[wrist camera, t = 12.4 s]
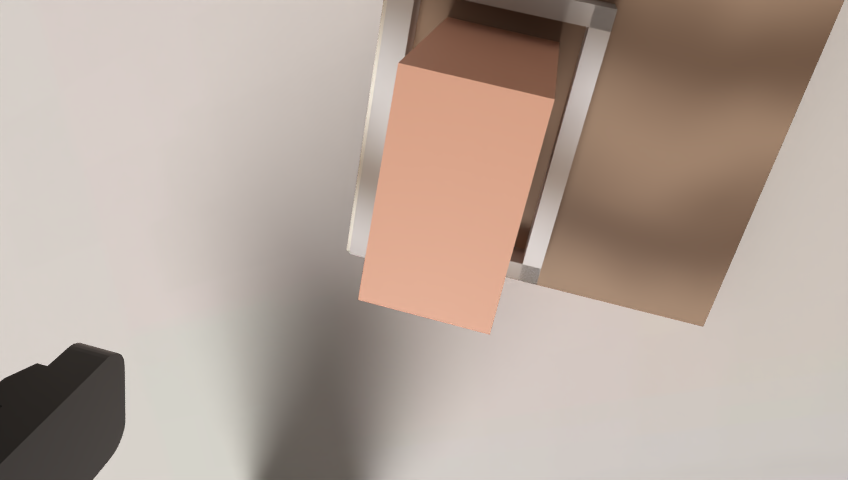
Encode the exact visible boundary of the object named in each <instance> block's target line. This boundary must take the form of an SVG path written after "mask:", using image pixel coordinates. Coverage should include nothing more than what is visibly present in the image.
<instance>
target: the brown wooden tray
mask: <svg viewBox="0 0 848 480" xmlns="http://www.w3.org/2000/svg"><path fill="white" fill-rule="evenodd" d="M843 2H844V0H384V1H383V7H382V14H381V21H380V28H379V34H378V41H377V48H376V55H375V61H374V68H373V75H372V81H371V88H370V95H369V102H368V108H367V115H366V122H365V128H364V135H363V142H362V149H361V155H360V162H359V169H358V176H357V182H356V189H355V196H354V202H353V209H352V216H351V223H350V229H349V236H348V243H347V249H346V250H347V251H349V254H351V255H355V256H359V257H363V258H365V255H366V250H367V244H368V238H369V232H370V226H371V220H372V214H373V208H374V202H375V197H376V191H377V185H378V179H379V173H380V167H381V161H382V155H383V149H384V143H385V138H386V132H387V126H388V120H389V114H390V108H391V102H392V96H393V90H394V84H395V79H396V73H397V67H398V63H399V62H400V61H401V60H402V59H403V58H404V57H405V56H406V55H407V54H408V53H409V52H410V51H411V50H412V49H414V48H415V47H416V46H417V45H418V44H419V43H420V42H421V41H422V40H423V39H424V38H425V37H426V36H428V35H429V34H430V33H431V32H432V31H433V30H434V29H435V28H436V27H437V26H438V25H439V24H440V23H442V22H443V21H444V20H445V19H446V18H447V17H450V18H455V19H459V20H463V21H468V22H472V23H477V24H481V25H485V26H490V27H494V28H499V29H503V30H507V31H512V32H516V33H521V34H525V35H529V36H534V37H538V38H543V39H547V40H551V41H556V42H560V45H559V56H558V67H557V79H556V90H555V100H554V104H553V107H552V111H551V115H550V118H549V122H548V126H547V129H546V133H545V136H544V140H543V144H542V147H541V151H540V154H539V158H538V162H537V165H536V169H535V173H534V176H533V180H532V183H531V187H530V191H529V194H528V198H527V201H526V205H525V209H524V212H523V216H522V220H521V223H520V227H519V230H518V234H517V238H516V241H515V245H514V248H513V252H512V256H511V259H510V263H509V266H508V270H507V274H506V277H508V278H512V279H516V280H520V281H524V282H528V283H532V284H536V285H540V286H544V287H548V288H552V289H556V290H560V291H564V292H568V293H572V294H576V295H580V296H584V297H588V298H592V299H596V300H600V301H604V302H607V303H611V304H615V305H619V306H623V307H627V308H631V309H635V310H639V311H643V312H647V313H651V314H655V315H659V316H663V317H667V318H671V319H675V320H679V321H683V322H687V323H691V324H695V325H699V326H704V324H705V321H706V319H707V317H708V314H709V312H710V310H711V307H712V305H713V303H714V300H715V298H716V296H717V294H718V291H719V289H720V287H721V284H722V282H723V280H724V277H725V275H726V273H727V270H728V268H729V266H730V263H731V261H732V259H733V257H734V254H735V252H736V250H737V247H738V245H739V243H740V240H741V238H742V236H743V233H744V231H745V229H746V227H747V224H748V222H749V220H750V217H751V215H752V213H753V210H754V208H755V206H756V203H757V201H758V199H759V196H760V194H761V192H762V190H763V187H764V185H765V183H766V180H767V178H768V176H769V173H770V171H771V169H772V166H773V164H774V162H775V159H776V157H777V155H778V153H779V150H780V148H781V146H782V143H783V141H784V139H785V136H786V134H787V132H788V129H789V127H790V125H791V123H792V120H793V118H794V116H795V113H796V111H797V109H798V106H799V104H800V102H801V99H802V97H803V95H804V92H805V90H806V88H807V86H808V83H809V81H810V79H811V76H812V74H813V72H814V69H815V67H816V65H817V62H818V60H819V58H820V55H821V53H822V51H823V49H824V46H825V44H826V42H827V39H828V37H829V35H830V32H831V30H832V28H833V25H834V23H835V21H836V18H837V16H838V14H839V12H840V9H841V7H842V5H843Z"/></svg>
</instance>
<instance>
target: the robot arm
mask: <svg viewBox="0 0 848 480" xmlns="http://www.w3.org/2000/svg"><path fill="white" fill-rule="evenodd" d="M124 427H125V365H124V359H123V357H122V355H121V354H118V353H115V352H111V351H108V350H104V349H100V348H97V347H93V346H89V345H86V344H82V343H76V344H73V345H71V346H70V347H69V348H67V349H66V350H65V351H64V352H63V353H62V354H61V355H60V356H58V357H57V358H56V359H55V360H54V361H53V362H52V363H51V364H49V365H48V366H45V365H41V364H38V363H37V364H35V365H32V366H30V367H28V368H26V369H24V370H22V371H19V372H17V373H15V374H13V375H11V376H8V377H6V378H4V379H3V380H2V381H1V382H0V480H93V479H94V477H95V476H96V475H97V474H98V473H99V471H100V470H101V469H102V468H103V467H104V465H105V464H106V463H107V462H108V461H109V459H110V458H111V457H112V455H113V454H114V452H115V451H116V449H117V447H118V445H119V443H120V440H121V438H122V435H123V431H124Z"/></svg>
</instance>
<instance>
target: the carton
mask: <svg viewBox="0 0 848 480" xmlns="http://www.w3.org/2000/svg"><path fill="white" fill-rule="evenodd" d="M559 45H560V42H556V41H551V40H547V39H543V38H538V37H534V36H529V35H525V34H521V33H516V32H512V31H507V30H503V29H499V28H494V27H490V26H485V25H481V24H477V23H472V22H468V21H463V20H459V19H455V18H450V17H447V18H446V19H445V20H444V21H443V22H442V23H440V24H439V25H438V26H437V27H436V28H435V29H434V30H433V31H432V32H431V33H430V34H429V35H428V36H426V37H425V38H424V39H423V40H422V41H421V42H420V43H419V44H418V45H417V46H416V47H415V48H414V49H412V50H411V51H410V52H409V53H408V54H407V55H406V56H405V57H404V58H403V59H402V60H401V61H400V62H399V63H398V67H397V73H396V79H395V84H394V90H393V96H392V102H391V108H390V114H389V120H388V126H387V132H386V138H385V143H384V149H383V155H382V161H381V167H380V173H379V179H378V185H377V191H376V197H375V202H374V208H373V214H372V220H371V226H370V232H369V238H368V244H367V250H366V255H365V261H364V267H363V273H362V279H361V285H360V291H359V297H358V300H361V301H365V302H368V303H372V304H376V305H380V306H384V307H387V308H391V309H395V310H399V311H403V312H406V313H410V314H414V315H418V316H421V317H425V318H429V319H433V320H437V321H440V322H444V323H448V324H452V325H456V326H459V327H463V328H467V329H471V330H474V331H478V332H482V333H486V334H490V332H491V328H492V324H493V321H494V317H495V313H496V310H497V306H498V303H499V299H500V295H501V292H502V288H503V285H504V281H505V277H506V274H507V270H508V266H509V263H510V259H511V256H512V252H513V248H514V245H515V241H516V238H517V234H518V230H519V227H520V223H521V220H522V216H523V212H524V209H525V205H526V201H527V198H528V194H529V191H530V187H531V183H532V180H533V176H534V173H535V169H536V165H537V162H538V158H539V154H540V151H541V147H542V144H543V140H544V136H545V133H546V129H547V126H548V122H549V118H550V115H551V111H552V107H553V104H554V100H555V90H556V79H557V67H558V56H559Z"/></svg>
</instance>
